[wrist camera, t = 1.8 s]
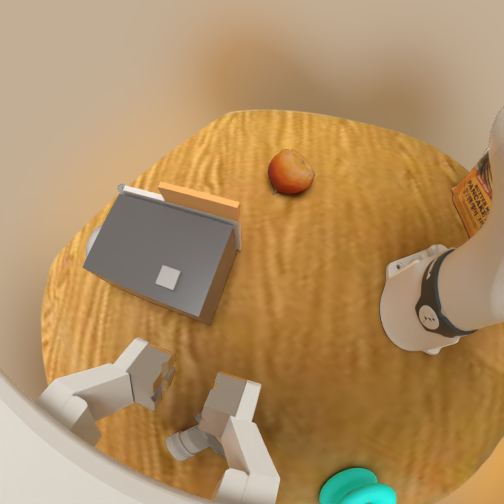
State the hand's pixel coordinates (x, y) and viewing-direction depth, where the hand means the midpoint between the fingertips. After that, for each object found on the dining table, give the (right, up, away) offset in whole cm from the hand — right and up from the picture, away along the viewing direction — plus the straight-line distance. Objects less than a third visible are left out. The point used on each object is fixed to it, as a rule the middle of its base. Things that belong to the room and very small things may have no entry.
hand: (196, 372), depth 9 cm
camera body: (-12, +2, +34) cm, 36 cm away
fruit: (+9, +17, +40) cm, 44 cm away
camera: (-4, -22, +25) cm, 34 cm away
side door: (-9, +8, +36) cm, 38 cm away
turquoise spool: (+18, -35, +21) cm, 44 cm away
